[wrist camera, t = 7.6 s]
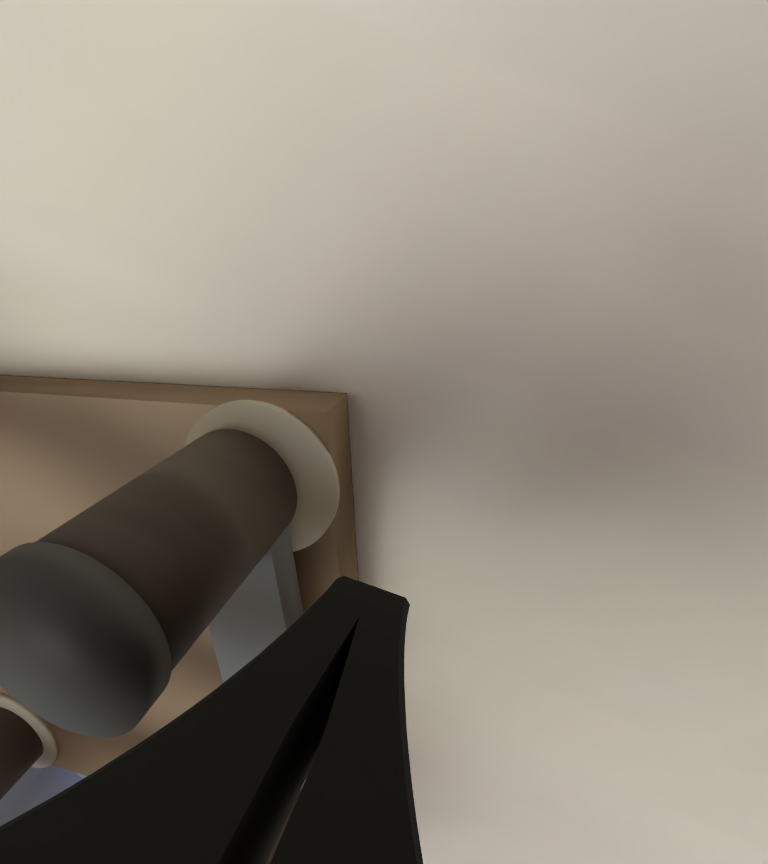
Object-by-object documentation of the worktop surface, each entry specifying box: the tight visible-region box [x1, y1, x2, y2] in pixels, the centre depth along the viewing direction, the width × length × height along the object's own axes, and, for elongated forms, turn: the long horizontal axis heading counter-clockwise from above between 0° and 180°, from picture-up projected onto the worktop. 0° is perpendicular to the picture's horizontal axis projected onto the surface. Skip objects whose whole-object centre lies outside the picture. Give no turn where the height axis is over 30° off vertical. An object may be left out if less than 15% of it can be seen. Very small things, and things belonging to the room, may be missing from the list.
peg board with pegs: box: [0, 375, 358, 864], centre depth 15 cm, size 18×18×7 cm
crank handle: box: [0, 429, 304, 738], centre depth 11 cm, size 10×3×6 cm, turn 5°
